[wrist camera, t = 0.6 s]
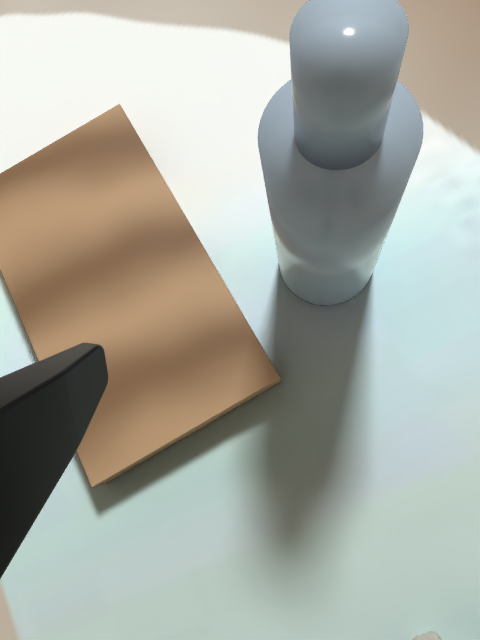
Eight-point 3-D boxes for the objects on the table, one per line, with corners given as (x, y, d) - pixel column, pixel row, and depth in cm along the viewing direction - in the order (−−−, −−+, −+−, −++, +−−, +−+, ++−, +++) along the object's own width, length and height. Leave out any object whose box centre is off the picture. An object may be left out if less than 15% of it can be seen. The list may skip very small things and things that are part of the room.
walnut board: (281, 381, 22) (280, 377, 21) (105, 483, 23) (91, 487, 21) (129, 121, 28) (119, 103, 26) (-15, 205, 28) (-33, 192, 26)
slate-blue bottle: (386, 290, 23) (498, 83, 9) (293, 316, 23) (272, 153, 10) (356, 206, 24) (417, -80, 11) (269, 232, 25) (220, -13, 11)
